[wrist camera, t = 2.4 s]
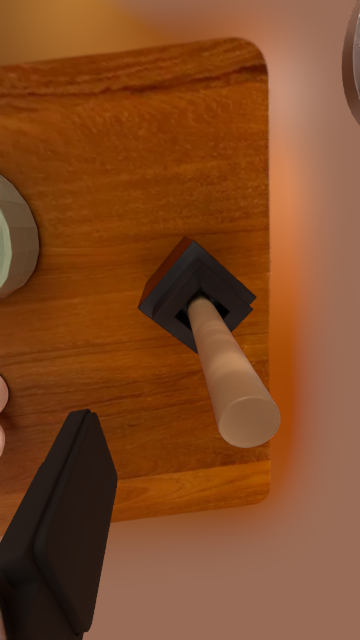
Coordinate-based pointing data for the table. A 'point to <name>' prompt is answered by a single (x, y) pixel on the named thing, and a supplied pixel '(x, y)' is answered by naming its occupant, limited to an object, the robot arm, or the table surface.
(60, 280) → the table surface
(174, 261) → the vase
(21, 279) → the bowl
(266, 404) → the stick
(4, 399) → the mug
